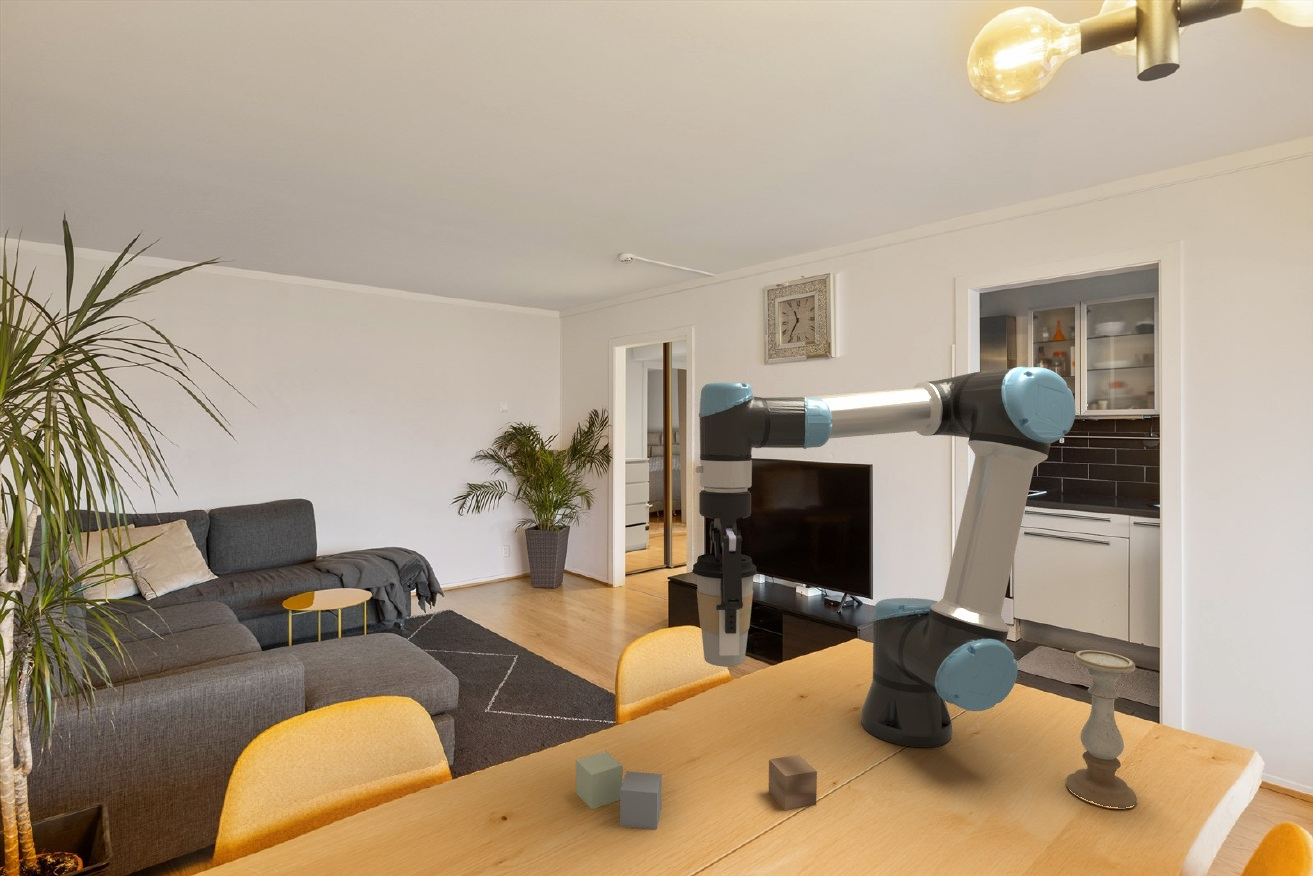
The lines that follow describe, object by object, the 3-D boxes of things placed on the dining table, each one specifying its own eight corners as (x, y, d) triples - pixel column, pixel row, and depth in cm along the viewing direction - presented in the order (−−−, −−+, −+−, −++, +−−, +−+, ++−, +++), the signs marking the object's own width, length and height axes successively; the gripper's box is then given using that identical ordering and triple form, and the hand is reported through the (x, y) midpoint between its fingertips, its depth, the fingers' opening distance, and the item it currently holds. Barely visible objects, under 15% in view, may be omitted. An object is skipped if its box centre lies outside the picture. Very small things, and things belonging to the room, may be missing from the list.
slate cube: (661, 809, 97) (661, 774, 96) (656, 830, 92) (657, 793, 91) (626, 806, 97) (626, 771, 97) (620, 826, 92) (620, 790, 92)
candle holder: (1125, 784, 104) (1129, 652, 104) (1145, 816, 96) (1149, 672, 95) (1059, 774, 107) (1063, 645, 106) (1073, 804, 99) (1077, 664, 98)
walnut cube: (798, 787, 103) (799, 754, 102) (816, 805, 98) (816, 771, 98) (768, 792, 101) (769, 759, 101) (785, 811, 96) (785, 776, 96)
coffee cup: (754, 673, 95) (755, 565, 94) (687, 668, 97) (687, 563, 96) (758, 651, 104) (758, 552, 104) (696, 647, 106) (696, 550, 105)
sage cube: (605, 784, 103) (606, 751, 103) (622, 799, 99) (622, 765, 99) (575, 793, 100) (576, 759, 100) (591, 810, 96) (591, 774, 96)
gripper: (692, 482, 110) (691, 623, 110) (708, 497, 89) (708, 670, 90) (738, 482, 110) (737, 622, 111) (766, 497, 89) (764, 670, 90)
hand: (724, 644), depth 100 cm, fingers closed on coffee cup, 8 cm apart
